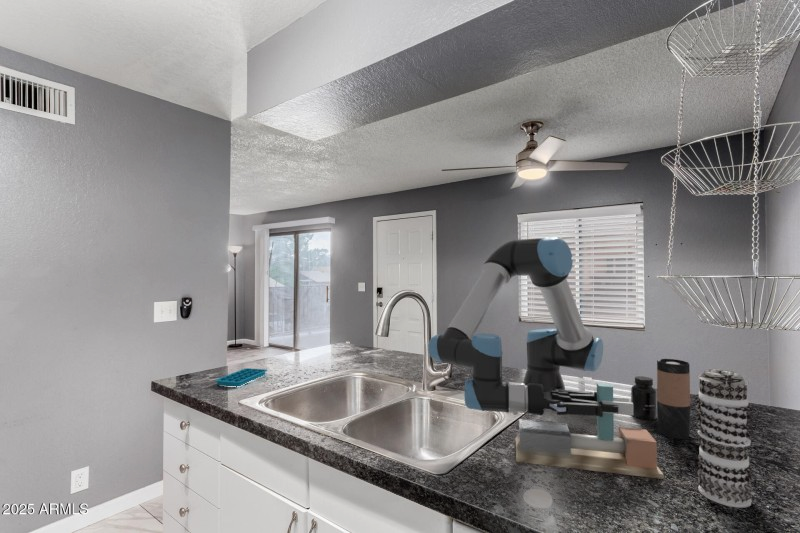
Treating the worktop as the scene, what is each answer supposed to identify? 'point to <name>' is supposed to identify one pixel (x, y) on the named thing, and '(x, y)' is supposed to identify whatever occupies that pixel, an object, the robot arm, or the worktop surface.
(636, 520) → the worktop surface
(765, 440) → the worktop surface
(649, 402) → the supplement bottle
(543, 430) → the sleeve
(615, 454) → the base board
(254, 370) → the ice cube tray
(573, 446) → the slip tube
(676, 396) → the travel mug
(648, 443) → the socket
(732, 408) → the decorative candle
